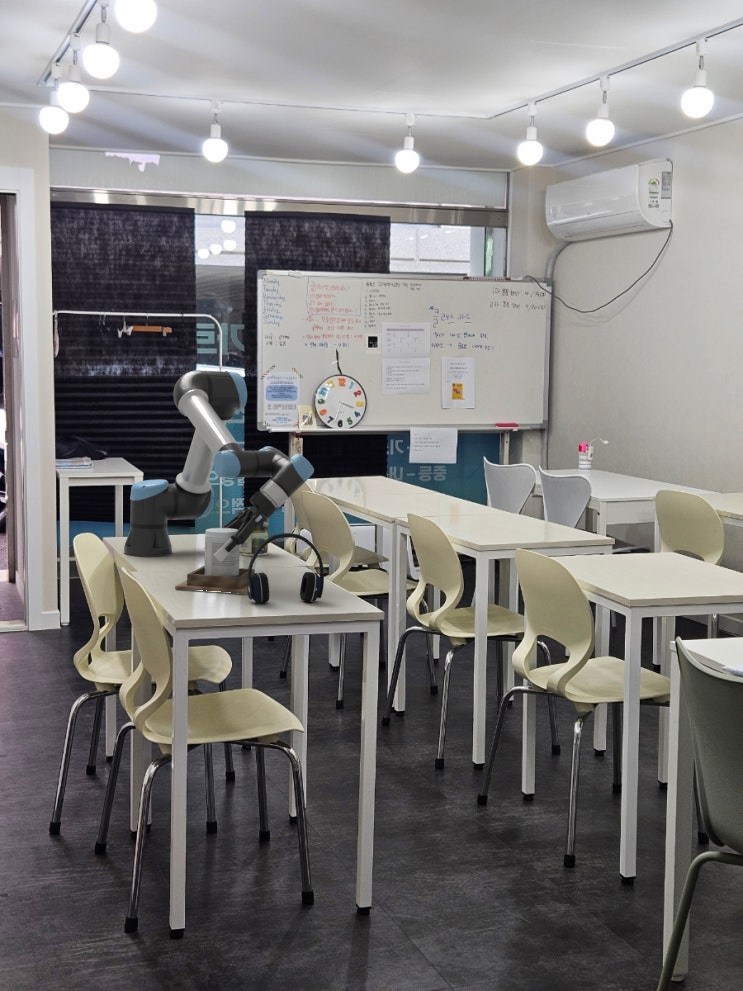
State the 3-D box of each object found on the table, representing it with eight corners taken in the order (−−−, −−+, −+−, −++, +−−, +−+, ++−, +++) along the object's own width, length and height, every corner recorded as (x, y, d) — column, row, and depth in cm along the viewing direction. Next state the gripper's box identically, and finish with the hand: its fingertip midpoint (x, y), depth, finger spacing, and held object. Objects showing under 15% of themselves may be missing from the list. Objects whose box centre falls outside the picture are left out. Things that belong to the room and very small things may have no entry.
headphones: (318, 599, 315) (320, 531, 313) (325, 604, 308) (327, 535, 307) (244, 600, 309) (246, 531, 307) (250, 606, 302) (252, 535, 300)
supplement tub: (245, 582, 329) (247, 530, 327) (222, 586, 321) (224, 533, 320) (220, 577, 335) (221, 526, 333) (196, 581, 327) (198, 529, 325)
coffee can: (269, 552, 392) (270, 510, 390) (265, 556, 382) (267, 513, 380) (238, 550, 392) (239, 508, 391) (234, 555, 382) (235, 512, 380)
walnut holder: (175, 589, 319) (175, 575, 319) (197, 577, 339) (198, 563, 339) (246, 594, 316) (247, 580, 316) (265, 582, 336) (265, 568, 336)
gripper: (289, 514, 320) (231, 571, 316) (265, 504, 342) (211, 557, 338) (270, 494, 318) (212, 552, 314) (248, 485, 339) (193, 539, 336)
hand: (212, 555), depth 326 cm, fingers open, 11 cm apart
